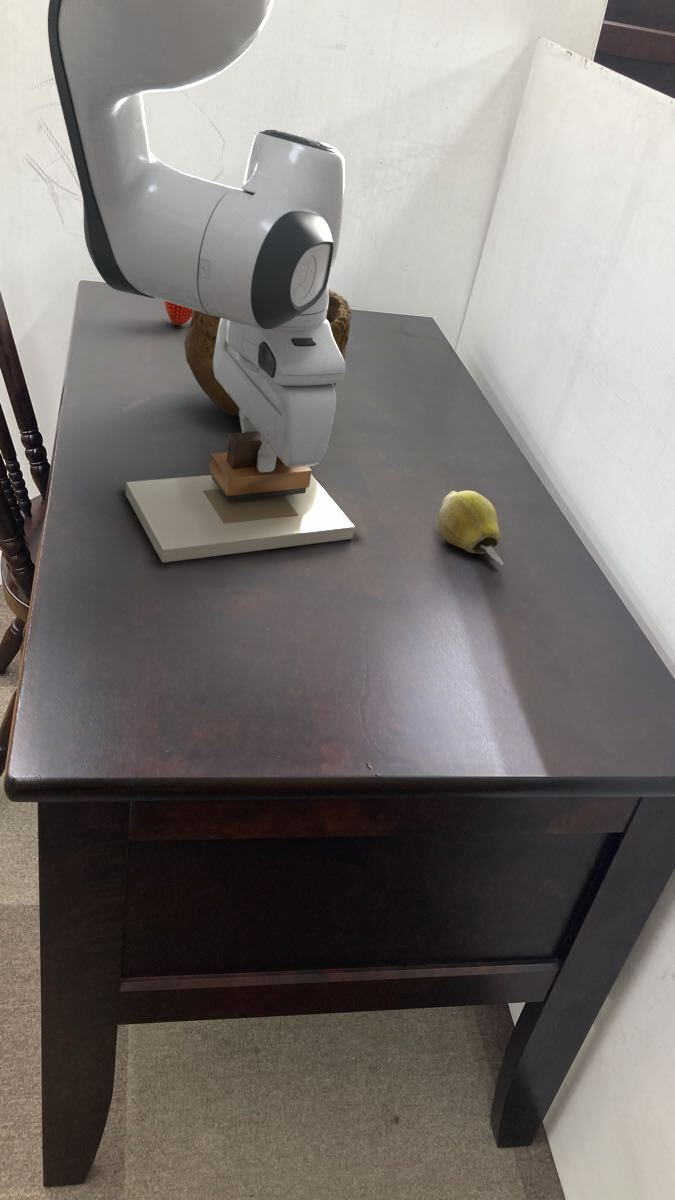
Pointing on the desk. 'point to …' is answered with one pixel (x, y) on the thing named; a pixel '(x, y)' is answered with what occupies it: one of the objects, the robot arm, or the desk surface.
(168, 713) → the desk surface
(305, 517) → the tile
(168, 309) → the fruit
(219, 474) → the brush
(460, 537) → the fruit
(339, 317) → the bowl
